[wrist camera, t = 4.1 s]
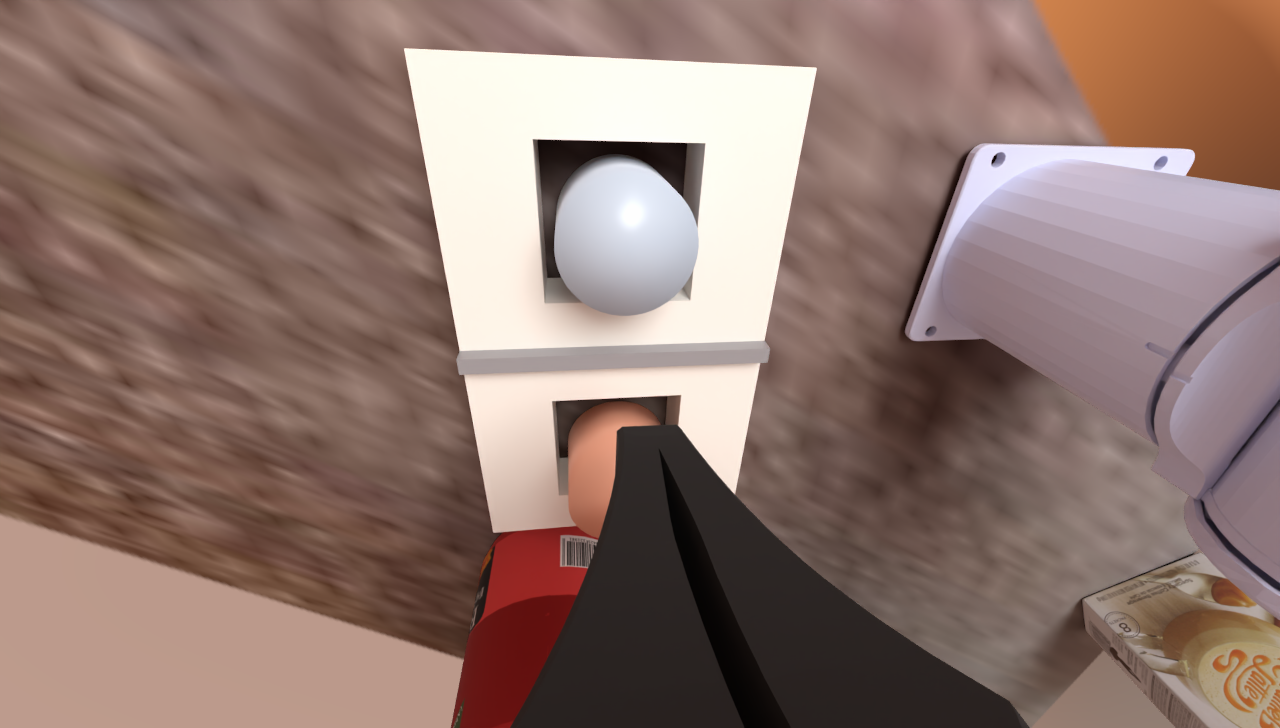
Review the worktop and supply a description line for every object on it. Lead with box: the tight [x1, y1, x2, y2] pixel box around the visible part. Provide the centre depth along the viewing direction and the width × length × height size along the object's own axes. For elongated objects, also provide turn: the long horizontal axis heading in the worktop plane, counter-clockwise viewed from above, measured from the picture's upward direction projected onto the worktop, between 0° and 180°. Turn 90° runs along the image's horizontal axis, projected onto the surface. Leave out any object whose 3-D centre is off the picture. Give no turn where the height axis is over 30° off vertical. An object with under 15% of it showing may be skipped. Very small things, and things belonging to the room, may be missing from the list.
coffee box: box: [1082, 553, 1280, 728], centre depth 31 cm, size 9×6×16 cm
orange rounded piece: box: [568, 401, 661, 538], centre depth 18 cm, size 4×4×4 cm
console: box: [404, 48, 817, 533], centre depth 18 cm, size 11×18×3 cm, turn 178°
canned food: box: [451, 526, 599, 728], centre depth 21 cm, size 8×8×11 cm
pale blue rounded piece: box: [554, 154, 699, 316], centre depth 15 cm, size 4×4×4 cm
